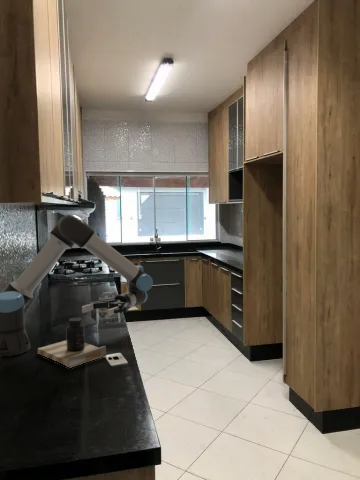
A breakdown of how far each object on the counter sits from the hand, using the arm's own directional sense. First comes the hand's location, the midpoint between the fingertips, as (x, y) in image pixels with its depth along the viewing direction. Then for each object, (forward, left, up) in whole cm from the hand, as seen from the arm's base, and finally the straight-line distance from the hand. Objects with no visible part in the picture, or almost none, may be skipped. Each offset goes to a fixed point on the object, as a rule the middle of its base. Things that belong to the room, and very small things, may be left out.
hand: (95, 311), depth 161 cm
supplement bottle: (+4, -12, -12) cm, 18 cm away
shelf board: (+2, -13, -15) cm, 20 cm away
